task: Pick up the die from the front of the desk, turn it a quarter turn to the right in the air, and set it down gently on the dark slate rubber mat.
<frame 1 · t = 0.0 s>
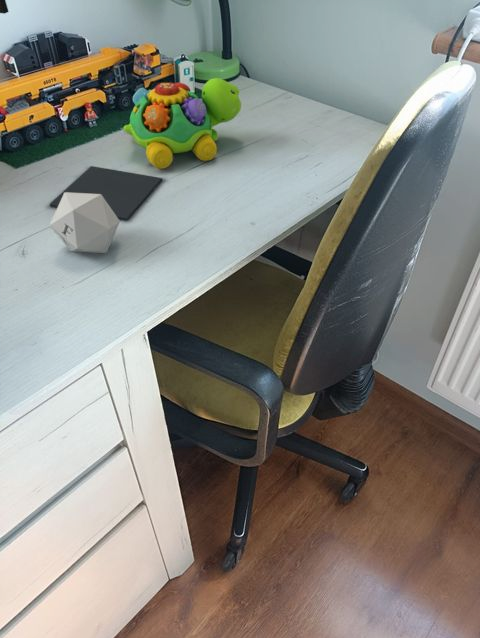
turtle toy: (186, 147, 102), on the table
die: (91, 247, 78), on the table
mat: (108, 193, 89), on the table
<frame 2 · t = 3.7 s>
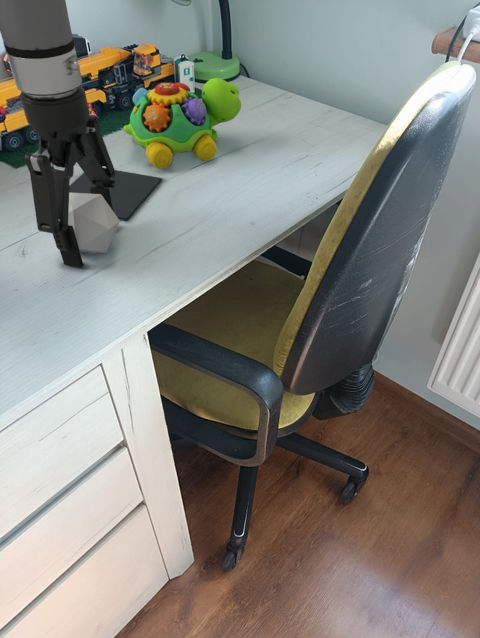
hand: (91, 245, 78), 0 cm above the table, tool pointing down, fingers closed on die, 10 cm apart
die: (92, 247, 78), on the table, touching gripper
everything else where it was.
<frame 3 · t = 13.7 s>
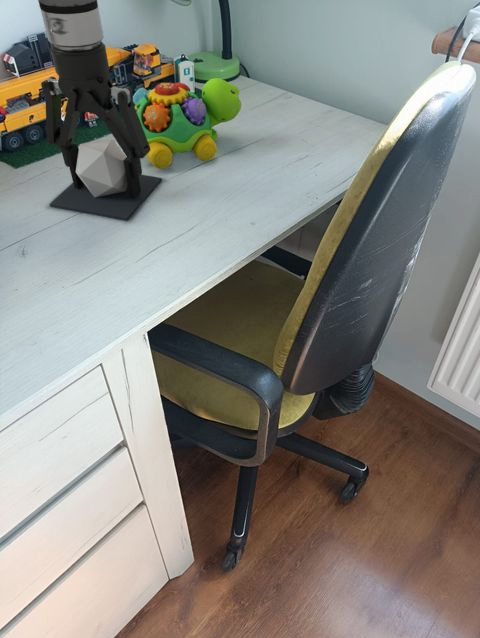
hand: (107, 189, 88), 1 cm above the table, tool pointing down, fingers closed on die, 10 cm apart
die: (108, 191, 88), resting on mat, touching gripper
everything else where it was.
when the fingers open (1 cm above the table, at t = 14.1 s): die stays where it is, resting on mat.
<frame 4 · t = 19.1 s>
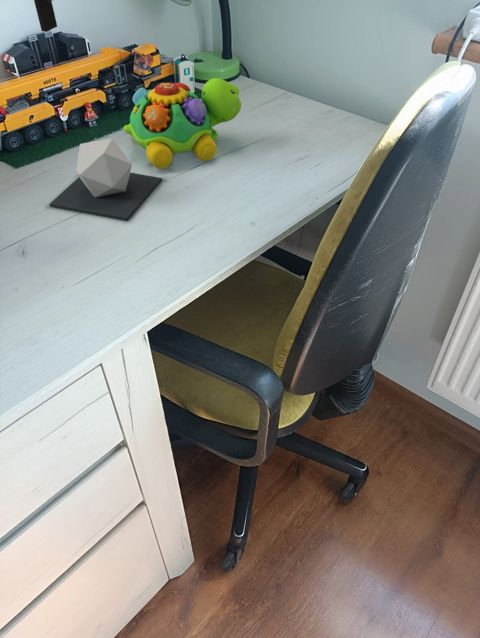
hand: (6, 24, 72), 25 cm above the table, tool pointing down, fingers open, 13 cm apart
die: (108, 191, 88), resting on mat
everything else where it was.
at the end: die inside the target area on the mat (0.0 cm from its centre), point 0.3 cm above the mat's base; die touching mat; the gripper is holding nothing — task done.
